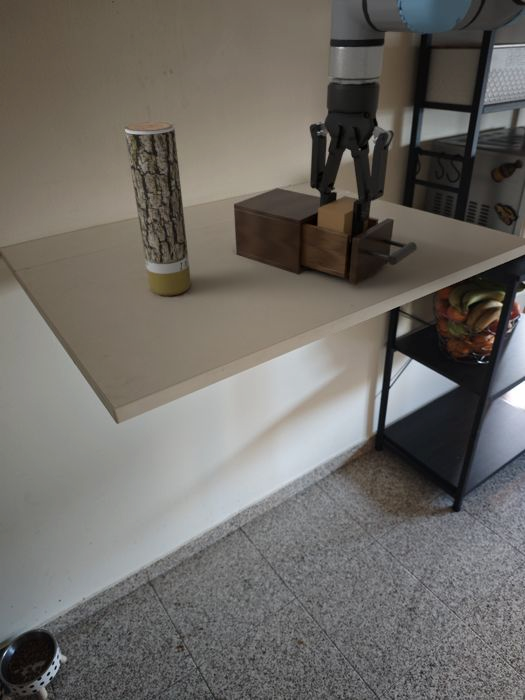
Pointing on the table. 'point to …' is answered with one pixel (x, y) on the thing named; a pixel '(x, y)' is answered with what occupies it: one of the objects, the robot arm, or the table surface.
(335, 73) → the robot arm
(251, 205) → the cabinet
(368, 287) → the table surface
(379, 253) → the drawer
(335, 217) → the small cardboard box
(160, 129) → the paper tube
